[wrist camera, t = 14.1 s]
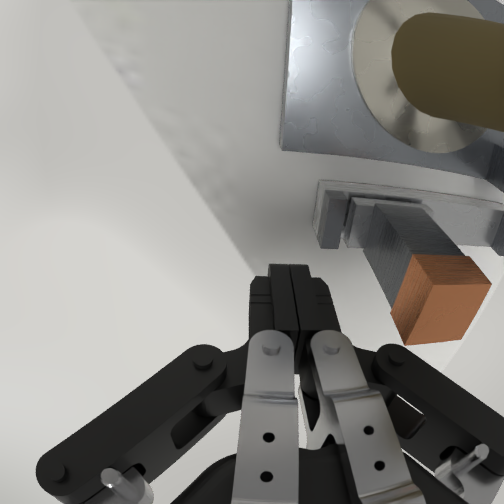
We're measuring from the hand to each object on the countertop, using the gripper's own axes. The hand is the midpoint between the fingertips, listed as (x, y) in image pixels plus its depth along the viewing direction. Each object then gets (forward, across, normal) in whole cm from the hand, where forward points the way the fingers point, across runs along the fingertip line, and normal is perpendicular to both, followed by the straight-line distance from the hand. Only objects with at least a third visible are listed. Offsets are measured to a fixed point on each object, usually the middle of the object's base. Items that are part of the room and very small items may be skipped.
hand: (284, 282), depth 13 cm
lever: (+6, -7, 0) cm, 9 cm away
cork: (+6, -8, -10) cm, 14 cm away
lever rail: (+8, -10, 0) cm, 13 cm away
